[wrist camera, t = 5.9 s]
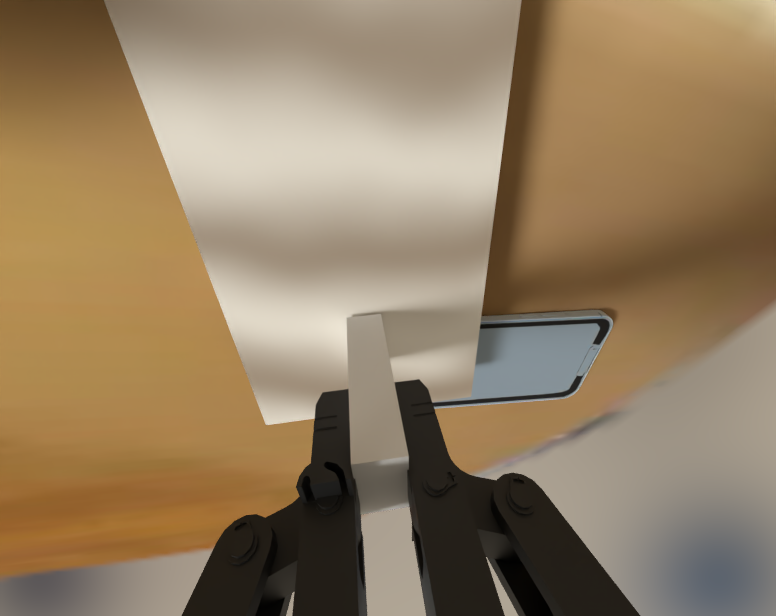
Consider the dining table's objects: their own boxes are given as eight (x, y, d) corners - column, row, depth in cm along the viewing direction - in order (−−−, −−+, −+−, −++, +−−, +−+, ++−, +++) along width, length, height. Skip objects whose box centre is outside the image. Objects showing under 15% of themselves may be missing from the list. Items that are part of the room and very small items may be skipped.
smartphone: (362, 325, 16) (619, 314, 18) (361, 315, 17) (608, 305, 19) (364, 414, 21) (574, 398, 22) (363, 402, 21) (566, 388, 23)
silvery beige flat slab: (80, -151, 8) (23, -211, 6) (513, -143, 8) (545, -193, 7) (272, 401, 17) (266, 425, 16) (461, 376, 18) (470, 396, 17)
